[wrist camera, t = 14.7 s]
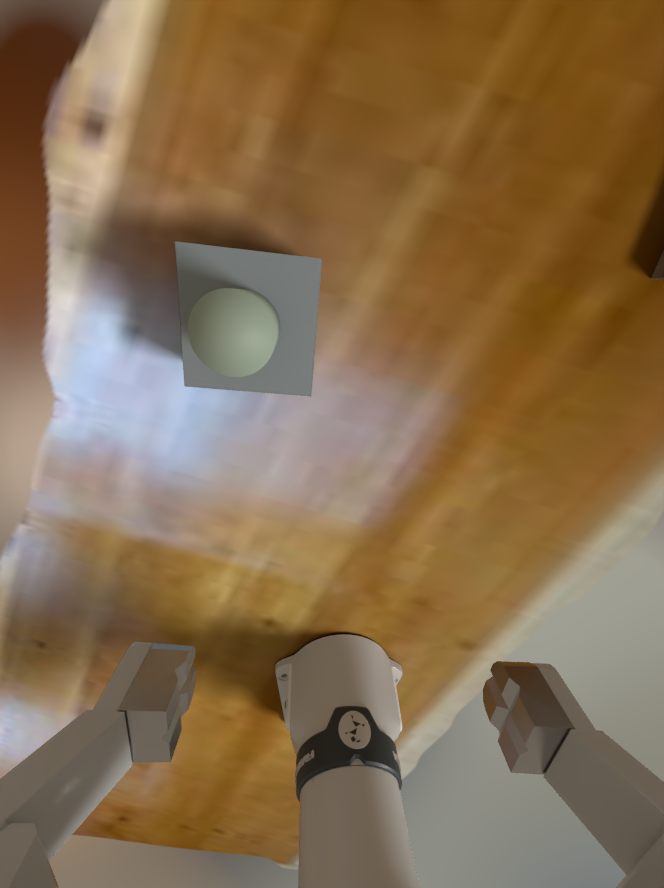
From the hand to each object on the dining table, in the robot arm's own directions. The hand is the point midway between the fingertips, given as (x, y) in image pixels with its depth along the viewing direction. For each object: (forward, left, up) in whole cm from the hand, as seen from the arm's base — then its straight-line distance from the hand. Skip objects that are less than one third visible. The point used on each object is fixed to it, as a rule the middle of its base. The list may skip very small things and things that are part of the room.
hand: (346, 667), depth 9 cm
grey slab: (+6, +6, -25) cm, 26 cm away
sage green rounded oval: (+6, +6, -21) cm, 23 cm away
